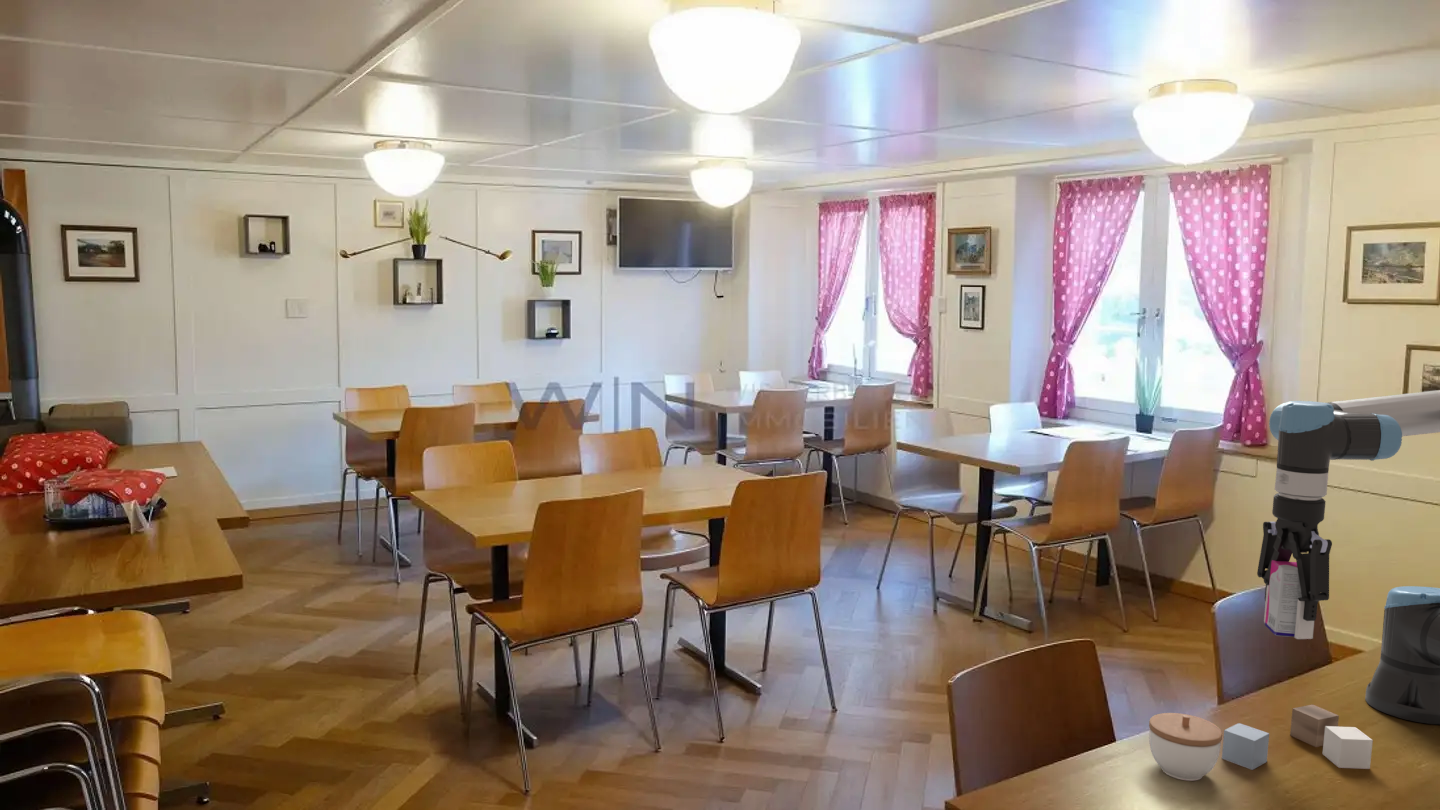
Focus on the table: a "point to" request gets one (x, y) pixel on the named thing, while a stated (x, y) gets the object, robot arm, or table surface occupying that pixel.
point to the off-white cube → (1347, 747)
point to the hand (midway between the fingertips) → (1287, 630)
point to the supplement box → (1283, 598)
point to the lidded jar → (1184, 745)
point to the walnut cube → (1311, 724)
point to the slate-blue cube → (1245, 746)
